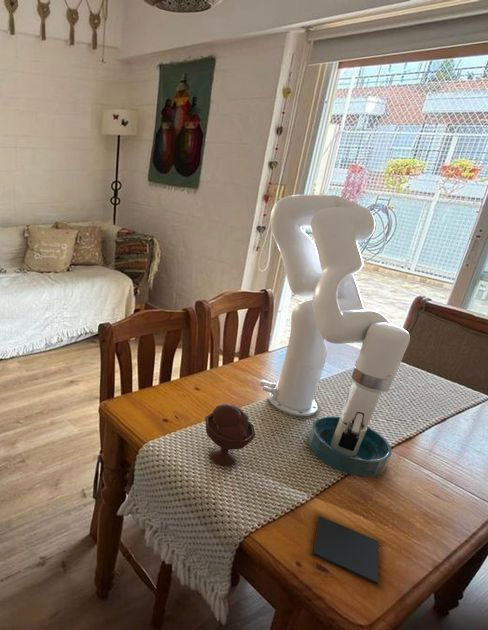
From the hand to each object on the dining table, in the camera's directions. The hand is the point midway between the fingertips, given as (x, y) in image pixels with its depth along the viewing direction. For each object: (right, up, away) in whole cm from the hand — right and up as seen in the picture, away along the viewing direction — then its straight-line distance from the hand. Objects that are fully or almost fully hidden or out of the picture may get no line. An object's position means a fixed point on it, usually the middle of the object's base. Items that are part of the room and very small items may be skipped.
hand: (346, 439), depth 105 cm
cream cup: (0, -2, +1) cm, 3 cm away
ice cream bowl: (-31, -4, -2) cm, 31 cm away
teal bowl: (0, -4, +1) cm, 4 cm away
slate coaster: (-15, -14, -23) cm, 31 cm away
